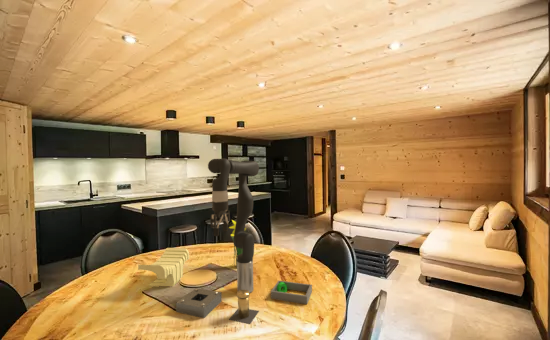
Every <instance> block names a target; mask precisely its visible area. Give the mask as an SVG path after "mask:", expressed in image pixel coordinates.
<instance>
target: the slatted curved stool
mask: <svg viewBox="0 0 550 340" xmlns="http://www.w3.org/2000/svg"><path fill="white" fill-rule="evenodd" d="M188 260H190V252H189V250H188V249H187V248H186V247H185V248H184V247H167V248H165V250H164V252H163V253H162V254H161V255H160V257H159V258H158V259H157V260H156V261H155V262H153V263H151V264H137V265H138V267H137V270H140V271H148V272H152V273H153V274H155V275H156V279H155V280H154V281H152V282H151V283H150V284H148V286H149V287H159V286H173V287H174V286H175V285H176V284H177V283H179V282H180V281H181V280H180V278H181V277H182V278H183V275H184V274H183V273H184V272H183V271H184V265H185V263H186V262H187V261H188ZM179 280H180V281H179Z"/></svg>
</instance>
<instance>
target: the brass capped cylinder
mask: <svg viewBox="0 0 550 340" xmlns="http://www.w3.org/2000/svg"><path fill="white" fill-rule="evenodd" d="M236 298H237V309H238V316H239V318H247V317H248V316H249V309H250V293H249V291H248V290H240V291H237V292H236Z"/></svg>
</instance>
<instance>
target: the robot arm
mask: <svg viewBox="0 0 550 340" xmlns="http://www.w3.org/2000/svg"><path fill="white" fill-rule="evenodd" d="M207 169H208V170H209V172H211V173H212V174H219V176H218V177H217V178H213V180H212V181H211V182H212V186H211V187H212V189H211V190H212V194H211V196H212V197H211V204H212V205H211V207H212V211H213V212H214V214H210V225H209V226H210V228H211V229H213V236H214V237H219V235H220V233H219V232H220V231H219V229H220V228H219V226H220V225H221V223H222V232H225V233H226V232H228V230H229V226H228V224H229V223H230V221H231V216H230V215H231V213H230V210H229V193H228V179H229V175H230V174H231V175H238V192H237V193H238V194H237V203H236V204H237V205H236V206H237V207H236V219H235V222H236V226H235V232H234V233H233V234H234V236H233V238H234V239H233V240H234V243H233V246H234V245H235V248H236V247H237V248H240V249H243V253H242V254H239V255H238V256H237V255H236V258H237V267H236V272H237V273H236V276H237V277H236V282H237V283H236V285H237V287H236V288H237V289H236V290H237V292H238V291H240V290H248V291H249V294H251V293H252V292H253V291H254V254H255V237H254V235H253V234H252V233H248V232H246V230H245V228H246V224H247V222H248V219H249V218H250V216H251V215H252V213H253V209H254V196H253V195H252V192H251V190H250V189H249V186H248V181H247V177H255V176H257V175H258V174H259V170H260V167H259V163H258V162H257V161H255V160H240V161H238V160H233V159H227V158H213V159H211V160H209V162H208V164H207Z"/></svg>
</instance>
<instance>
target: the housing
mask: <svg viewBox="0 0 550 340" xmlns="http://www.w3.org/2000/svg"><path fill="white" fill-rule="evenodd" d="M221 302H222V292H221V291H217V290H216V291H215V290H212V289H211V290H210V289H203V288H197V287H196V288H194V289H192V290H191V291H189V292H188V293H187V294H186V295H185V296H183V297H182V298H181V299H179V300H178V301H177V302H176V305H175V307H176V308H175V311H176V313H177V314H183V315H188V316H193V317H197V318H202V319H205V318H206V317H208V315H209V314H210V313H212V312H213V310H215V308H217V307H218V306H219V305H220V304H221Z"/></svg>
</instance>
